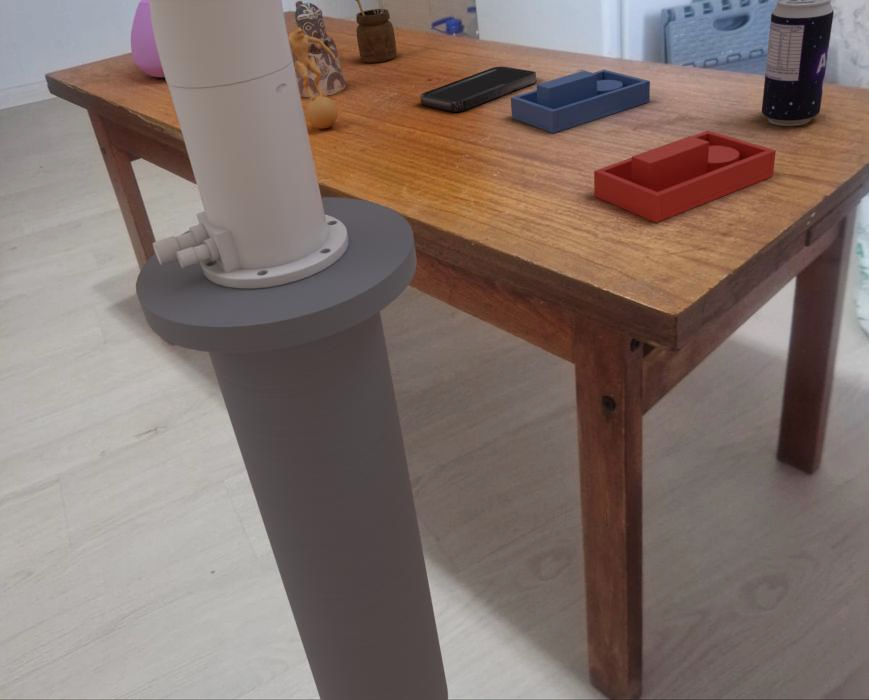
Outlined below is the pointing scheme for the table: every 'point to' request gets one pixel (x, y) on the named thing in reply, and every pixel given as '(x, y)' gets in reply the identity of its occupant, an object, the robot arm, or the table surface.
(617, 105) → the blue tray
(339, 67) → the figurine
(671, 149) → the red block with disc
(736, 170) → the red tray
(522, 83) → the phone
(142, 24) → the teapot
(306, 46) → the figurine
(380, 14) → the utensil holder
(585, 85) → the blue block with disc
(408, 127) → the table surface
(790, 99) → the beverage can
